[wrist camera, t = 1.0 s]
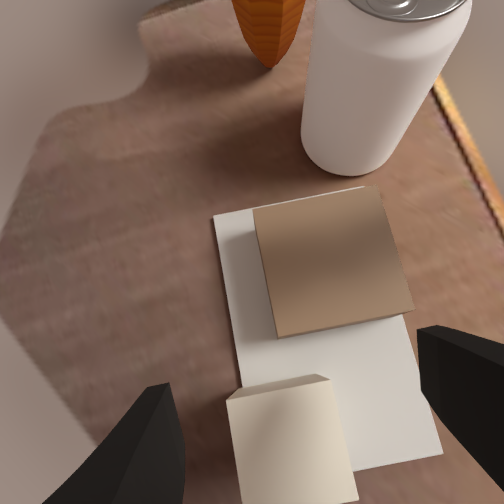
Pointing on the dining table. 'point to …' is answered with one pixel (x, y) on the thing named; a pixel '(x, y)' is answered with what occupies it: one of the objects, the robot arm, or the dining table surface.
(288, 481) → the cream block
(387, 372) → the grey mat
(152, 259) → the dining table surface
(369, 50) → the can
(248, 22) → the carrot
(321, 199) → the brown block
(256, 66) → the dining table surface
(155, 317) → the dining table surface
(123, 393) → the dining table surface
